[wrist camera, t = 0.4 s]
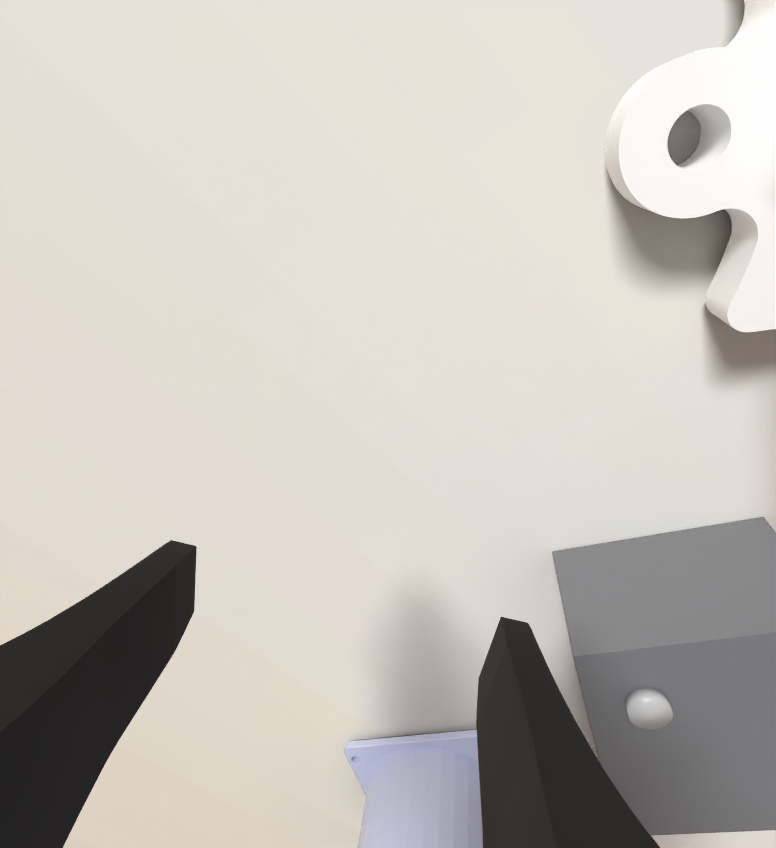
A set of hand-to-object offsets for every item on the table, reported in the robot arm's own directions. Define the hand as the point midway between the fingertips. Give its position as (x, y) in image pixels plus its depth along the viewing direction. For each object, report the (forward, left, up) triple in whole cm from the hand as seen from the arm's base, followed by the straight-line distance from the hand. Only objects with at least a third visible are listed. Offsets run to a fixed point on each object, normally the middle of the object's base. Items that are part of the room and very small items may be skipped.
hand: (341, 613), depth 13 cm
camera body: (-12, -9, -10) cm, 18 cm away
